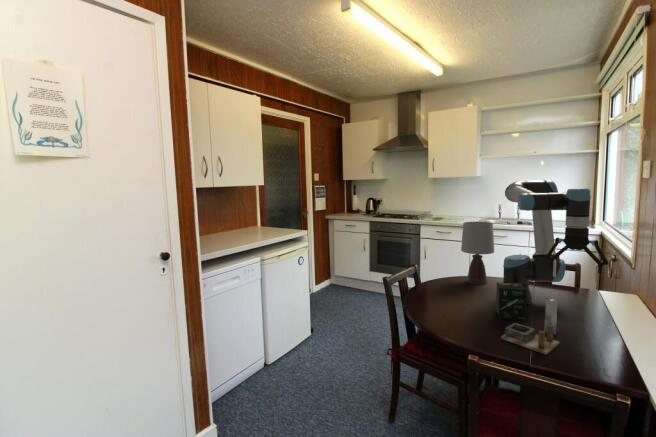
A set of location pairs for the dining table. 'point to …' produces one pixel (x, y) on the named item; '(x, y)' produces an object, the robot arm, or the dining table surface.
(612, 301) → the dining table surface
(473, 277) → the lamp
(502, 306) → the tampon box
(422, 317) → the dining table surface
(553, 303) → the pin
